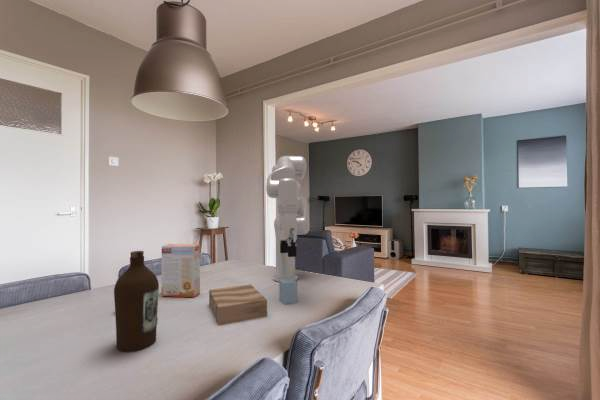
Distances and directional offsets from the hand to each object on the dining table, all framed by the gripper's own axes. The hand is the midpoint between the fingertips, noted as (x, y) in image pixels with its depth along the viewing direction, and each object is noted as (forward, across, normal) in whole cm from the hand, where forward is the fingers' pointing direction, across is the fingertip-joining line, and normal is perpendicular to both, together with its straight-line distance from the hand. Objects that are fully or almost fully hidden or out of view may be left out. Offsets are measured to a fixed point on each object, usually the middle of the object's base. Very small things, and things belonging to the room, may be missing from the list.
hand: (288, 254), depth 112 cm
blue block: (+18, -1, 0) cm, 18 cm away
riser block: (+19, +1, -20) cm, 27 cm away
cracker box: (+18, -24, -39) cm, 49 cm away
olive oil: (+19, +16, -49) cm, 55 cm away
